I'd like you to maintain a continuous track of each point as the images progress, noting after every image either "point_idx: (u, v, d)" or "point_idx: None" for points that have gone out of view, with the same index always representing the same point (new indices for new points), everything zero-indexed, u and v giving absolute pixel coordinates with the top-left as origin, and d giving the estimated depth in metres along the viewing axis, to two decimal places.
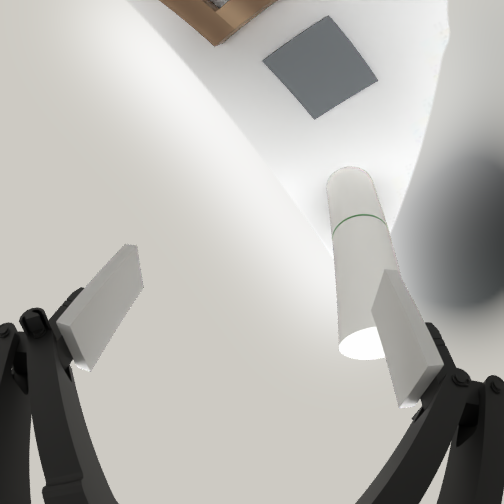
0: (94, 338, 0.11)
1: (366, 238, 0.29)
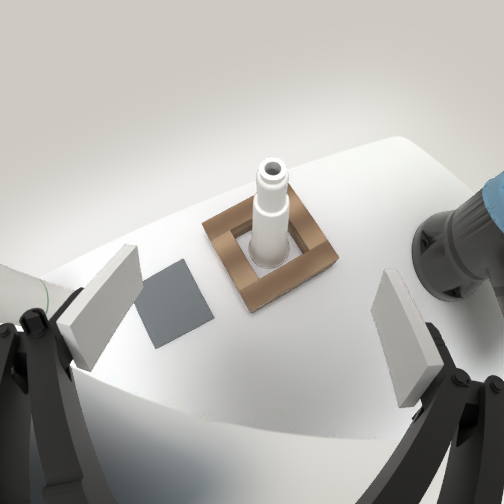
0: (94, 338, 0.11)
1: (30, 299, 0.28)
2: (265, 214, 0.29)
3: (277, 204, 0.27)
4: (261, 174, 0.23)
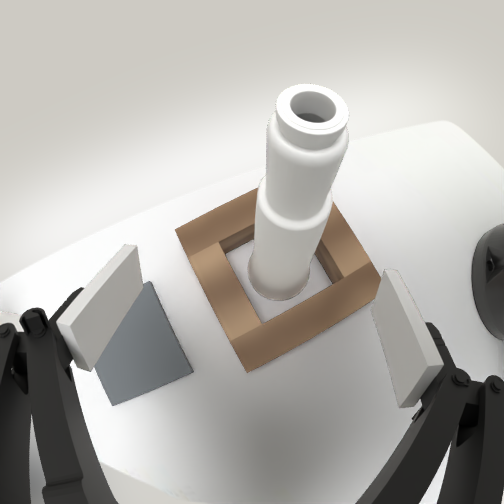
0: (94, 338, 0.11)
1: None
2: (282, 223, 0.13)
3: (313, 203, 0.11)
4: (282, 119, 0.08)
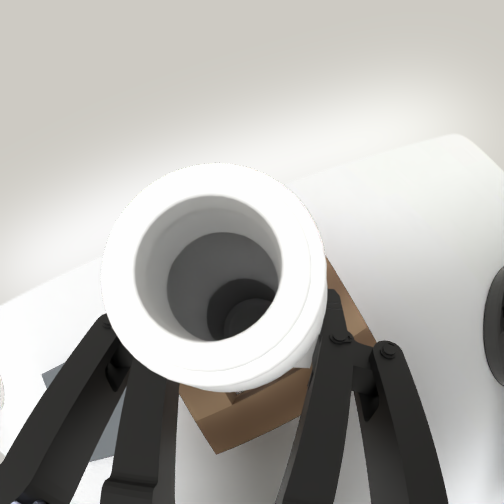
0: None
1: None
2: None
3: None
4: (112, 315, 0.03)
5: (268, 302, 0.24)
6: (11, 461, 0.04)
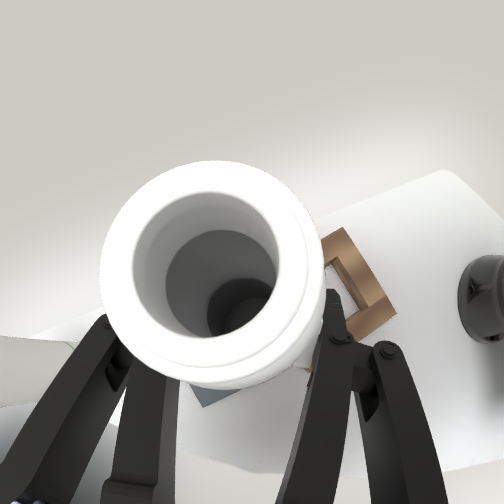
0: None
1: None
2: None
3: None
4: (111, 312, 0.03)
5: None
6: (11, 461, 0.04)
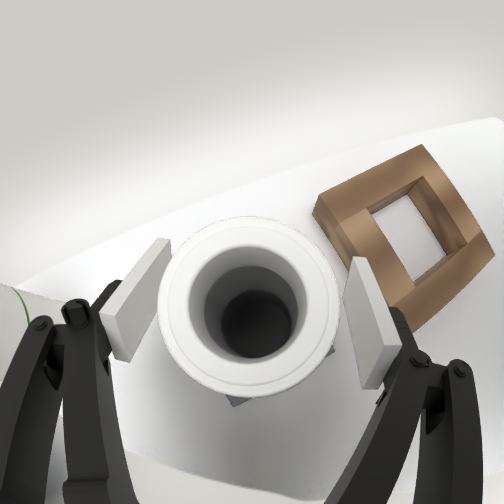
0: (134, 329, 0.12)
1: None
2: None
3: None
4: (169, 344, 0.03)
5: (271, 304, 0.25)
6: None
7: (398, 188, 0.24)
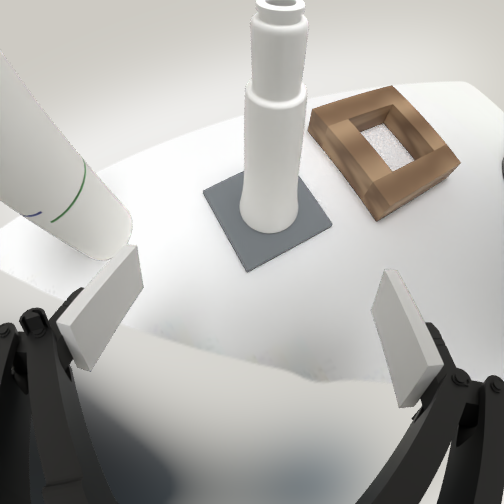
0: (94, 338, 0.11)
1: (59, 155, 0.17)
2: (266, 104, 0.15)
3: (288, 79, 0.13)
4: (259, 6, 0.09)
5: None
6: None
7: (373, 109, 0.30)
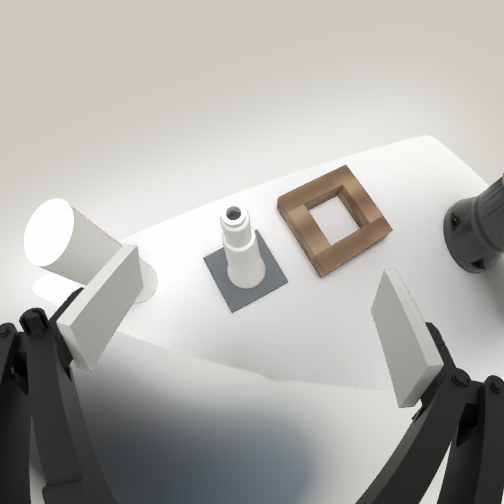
0: (94, 338, 0.11)
1: None
2: (232, 249, 0.31)
3: (241, 242, 0.30)
4: (222, 218, 0.26)
5: None
6: None
7: (324, 192, 0.47)
